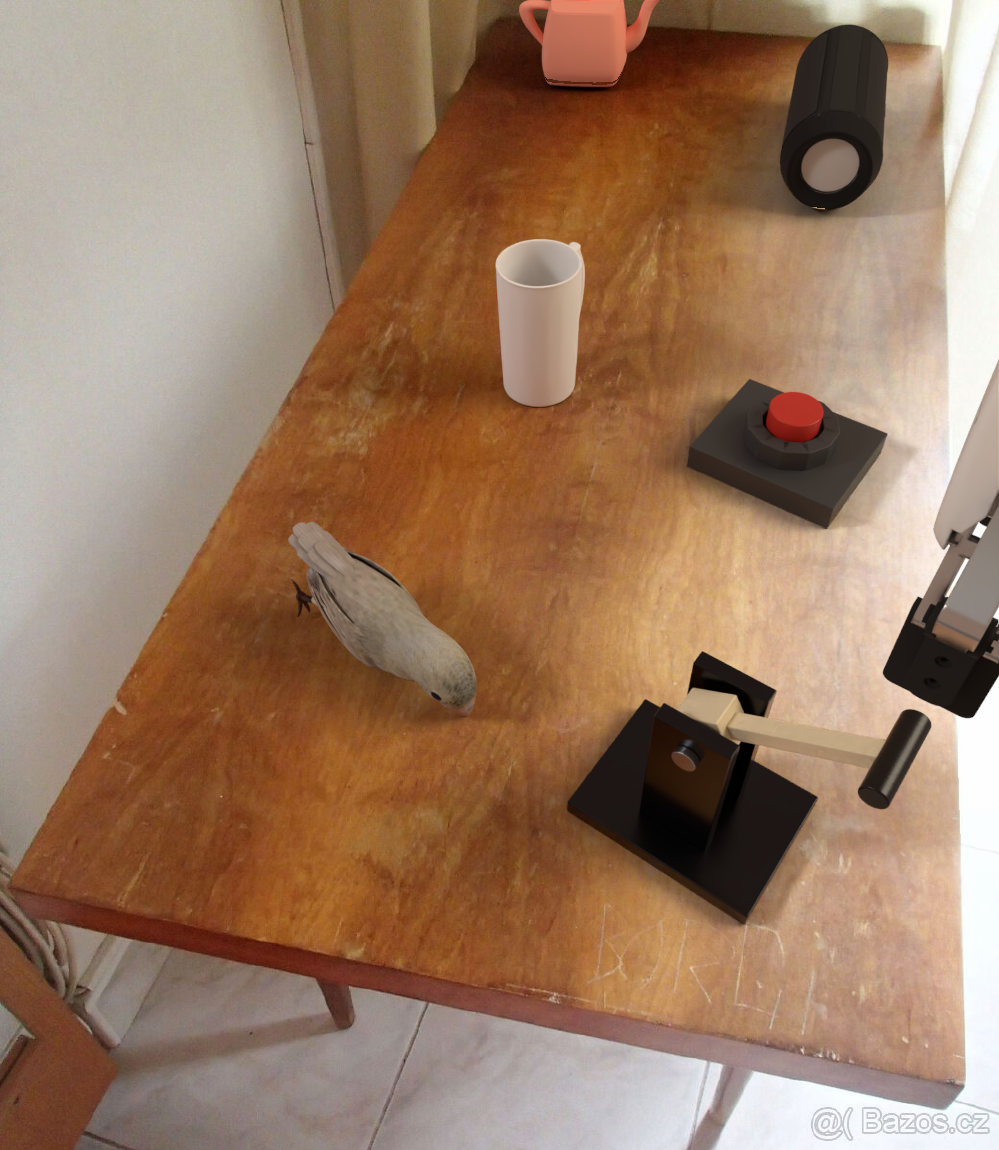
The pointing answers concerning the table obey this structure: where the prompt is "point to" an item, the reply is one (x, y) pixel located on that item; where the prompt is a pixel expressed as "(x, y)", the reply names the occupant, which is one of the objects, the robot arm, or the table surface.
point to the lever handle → (819, 741)
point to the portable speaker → (836, 118)
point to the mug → (539, 319)
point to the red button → (794, 417)
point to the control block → (786, 456)
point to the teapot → (585, 38)
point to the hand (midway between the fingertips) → (975, 607)
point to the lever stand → (697, 797)
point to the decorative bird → (381, 620)
